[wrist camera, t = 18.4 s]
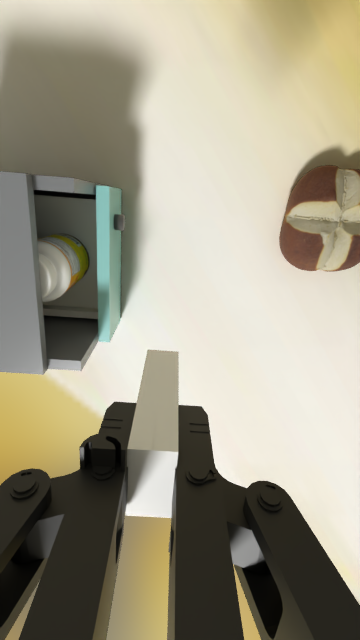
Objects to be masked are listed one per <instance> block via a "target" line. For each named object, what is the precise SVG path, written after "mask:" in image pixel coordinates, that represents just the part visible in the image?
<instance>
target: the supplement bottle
mask: <svg viewBox="0 0 360 640" xmlns="http://www.w3.org/2000/svg"><path fill="white" fill-rule="evenodd" d="M37 242H38V254H39V266H40V279H41V291H42V302H48V301H52V300H55V299H57V298H59V297H60V296H62V295H63V294H64V293H65V292H66V291H67V290H69V289H70V288H71V287H72V286H74V285H75V284H76V283H77V282H78V281H79V280H81V279H82V278H83V277H84V276H85V274H86V273H87V271H88V269H89V265H90V257H89V253H88V251H87V249H86V247H85V245H84V244H83V243H82V242H81V241H80V240H79V239H77V238H76V237H74V236H72V235H69V234H64V233H60V234H54V235H50V236H46V237H43V238H39V239H37Z"/></svg>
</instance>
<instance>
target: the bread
mask: <svg viewBox="0 0 360 640" xmlns="http://www.w3.org/2000/svg"><path fill="white" fill-rule="evenodd" d="M279 239H280V241H279V242H280V248H281V251H282V254H283V255H284V257H285V258H286V260H287V261H288V262H289V263H290V264H292V265H293V266H295V267H297V268H299V269H302V270H307V271H316V270H323V271H340V270H345V269H348V268H351V267H353V266H355V265H356V264H358V263H359V262H360V170H356V169H339V168H338V167H337V166H332V165H325V166H320V167H317V168H314V169H312V170H311V171H309V172H308V173H306V174H305V175H304V176H303V177H302V178H301V179H300V180H299V181H298V183H297V184H296V185H295V187H294V189H293V191H292V193H291V195H290V197H289V200H288V204H287V208H286V213H285V217H284V222H283V224H282V227H281V231H280V237H279Z"/></svg>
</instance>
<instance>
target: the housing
mask: <svg viewBox="0 0 360 640" xmlns="http://www.w3.org/2000/svg"><path fill="white" fill-rule="evenodd" d="M96 185H99V186H106V185H102V184H98V183H93V182H89V181H84V180H80V179H76V178H67V177H55V176H43V175H31V174H26V173H15V172H3V171H0V372H11V373H28V374H44V373H45V372H46V371H47V369H60V370H76V371H82V369H83V367H84V365H85V363H86V362H87V360H88V358H89V356H90V355H91V353H92V351H93V349H94V348H95V346H96V344H97V342H98V319H91V318H76V317H61V316H47V315H43V303H42V291H41V279H40V266H39V254H38V242H37V230H36V217H35V205H34V195H45V196H57V197H69V198H82V199H94V200H96Z"/></svg>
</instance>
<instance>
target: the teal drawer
mask: <svg viewBox="0 0 360 640" xmlns="http://www.w3.org/2000/svg"><path fill="white" fill-rule="evenodd" d="M121 196H122V189H119V188H114V187H110V186H99V185H96V200H94V199H82V198H69V197H57V196H45V195H34V205H35V217H36V230H37V239H39V238H43V237H46V236H50V235H54V234H60V233H64V234H69V235H72V236H74V237H76V238H77V239H79V240H80V241H81V242H82V243H83V244H84V245H85V247H86V249H87V251H88V253H89V257H90V265H89V269H88V271H87V273H86V274H85V276H84V277H83V278H82V279H81V280H79V281H78V282H77V283H76V284H75V285H74V286H72V287H71V288H70V289H69V290H67V291H66V292H65V293H64V294H63V295H62V296H60V297H59V298H57V299H55V300H52V301H48V302H42V303H43V315H47V316H61V317H76V318H91V319H98V341H100V342H110V340H111V338H112V336H113V334H114V332H115V330H116V328H117V326H118V324H119V322H120V296H121V231H124V229H125V215H121Z"/></svg>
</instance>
